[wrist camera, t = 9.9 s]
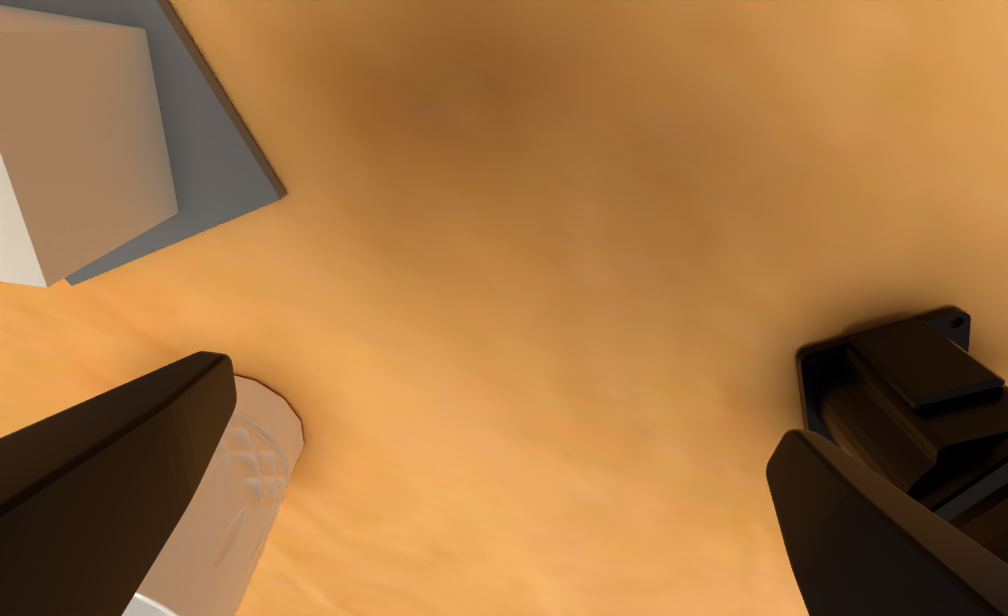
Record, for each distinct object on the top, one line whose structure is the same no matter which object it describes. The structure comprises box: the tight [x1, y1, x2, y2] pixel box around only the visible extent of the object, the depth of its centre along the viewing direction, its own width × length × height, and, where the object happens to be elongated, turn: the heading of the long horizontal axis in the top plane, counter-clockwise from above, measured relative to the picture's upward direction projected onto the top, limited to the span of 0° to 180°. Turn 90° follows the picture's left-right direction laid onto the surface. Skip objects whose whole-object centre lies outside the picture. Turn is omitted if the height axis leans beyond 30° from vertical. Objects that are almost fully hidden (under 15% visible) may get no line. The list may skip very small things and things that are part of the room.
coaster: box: [0, 0, 287, 286], centre depth 17 cm, size 10×10×1 cm
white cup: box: [122, 375, 304, 616], centre depth 20 cm, size 8×8×10 cm
